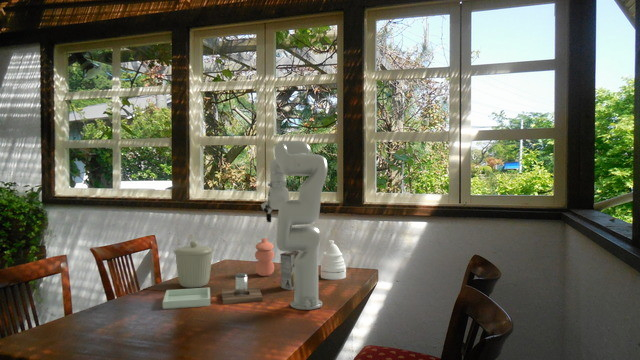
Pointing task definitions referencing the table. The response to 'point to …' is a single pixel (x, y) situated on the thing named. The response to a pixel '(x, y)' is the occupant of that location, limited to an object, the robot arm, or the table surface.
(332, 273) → the honey pot
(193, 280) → the canister
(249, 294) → the wooden base board
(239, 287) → the lock pin
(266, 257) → the ceramic vessels
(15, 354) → the table surface
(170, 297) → the tray
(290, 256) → the coffee box
